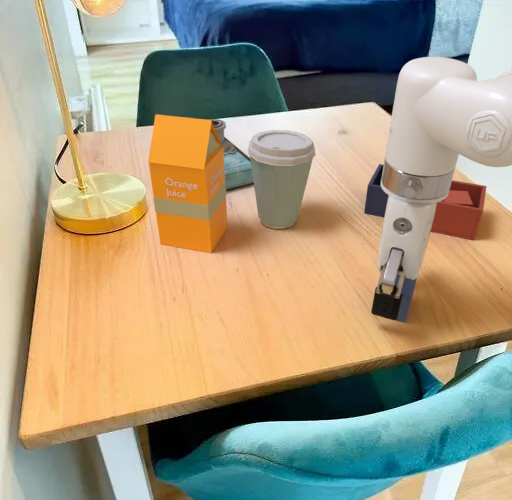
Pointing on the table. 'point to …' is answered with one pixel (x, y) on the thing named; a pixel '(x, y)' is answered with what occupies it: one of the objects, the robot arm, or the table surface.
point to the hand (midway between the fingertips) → (391, 292)
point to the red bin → (460, 212)
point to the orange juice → (188, 182)
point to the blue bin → (376, 195)
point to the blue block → (405, 297)
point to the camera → (233, 160)
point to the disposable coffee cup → (280, 174)
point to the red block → (459, 198)
